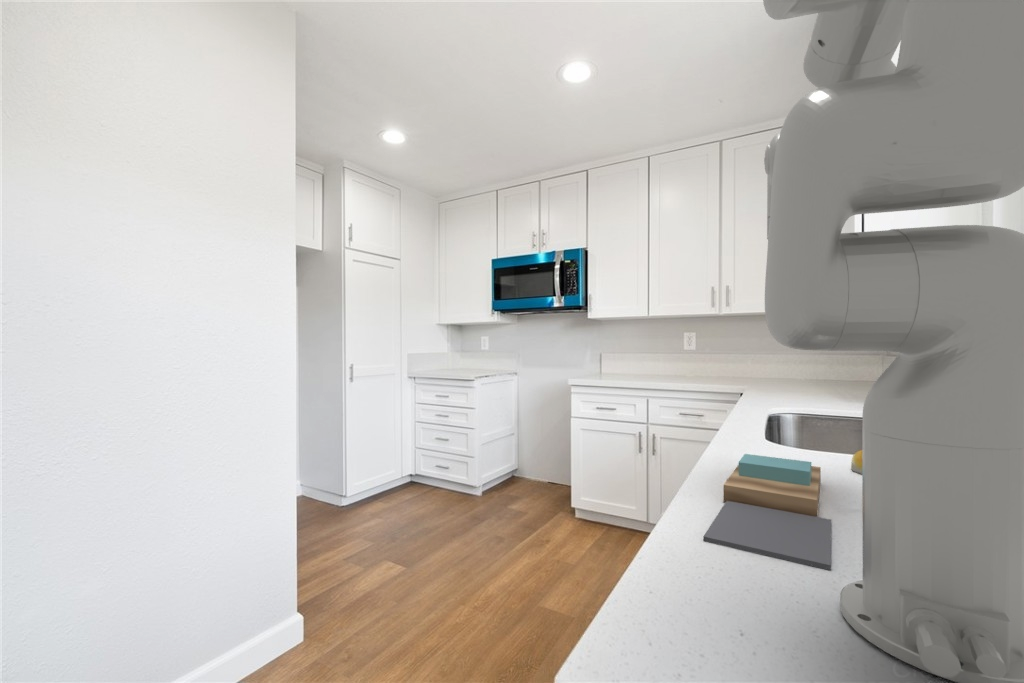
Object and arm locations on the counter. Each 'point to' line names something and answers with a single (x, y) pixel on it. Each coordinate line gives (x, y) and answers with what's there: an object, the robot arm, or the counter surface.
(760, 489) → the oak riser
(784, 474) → the teal tile
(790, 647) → the counter surface
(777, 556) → the charcoal mat
